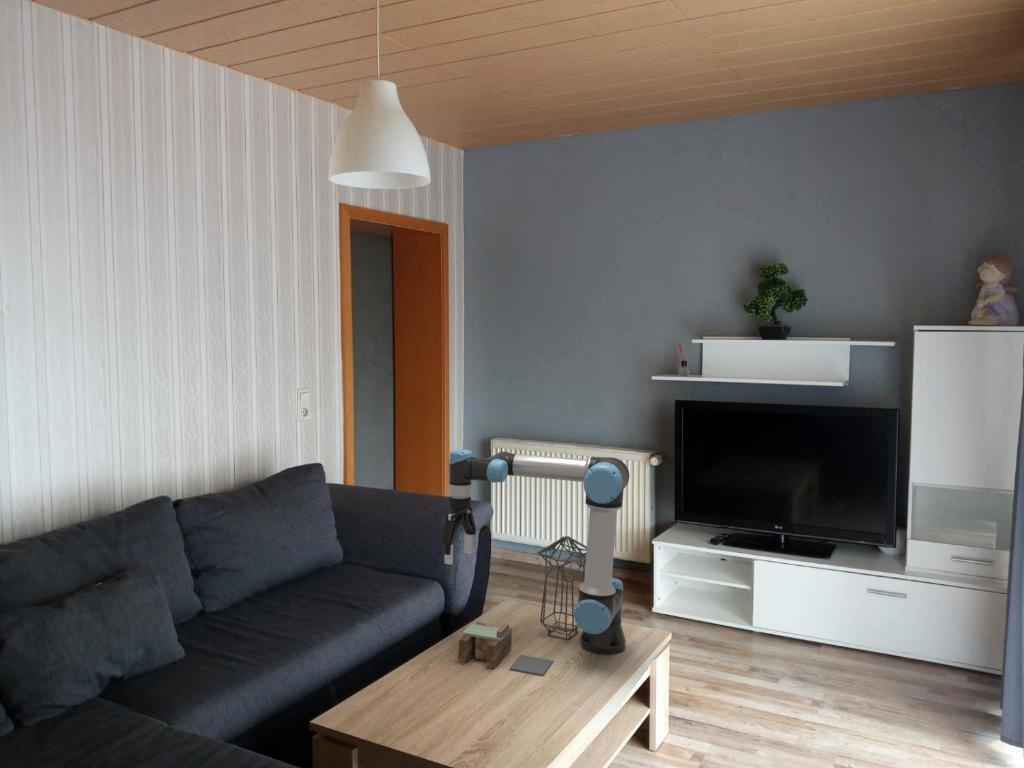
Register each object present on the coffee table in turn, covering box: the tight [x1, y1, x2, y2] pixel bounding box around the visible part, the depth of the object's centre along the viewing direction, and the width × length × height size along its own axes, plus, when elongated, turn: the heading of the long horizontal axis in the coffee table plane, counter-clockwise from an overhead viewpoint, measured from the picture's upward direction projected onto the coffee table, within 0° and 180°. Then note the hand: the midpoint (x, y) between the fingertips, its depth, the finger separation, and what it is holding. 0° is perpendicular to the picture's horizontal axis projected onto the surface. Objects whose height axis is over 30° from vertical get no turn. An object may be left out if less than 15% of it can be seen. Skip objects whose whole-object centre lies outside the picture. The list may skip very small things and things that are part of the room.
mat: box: [508, 654, 554, 677], centre depth 257 cm, size 11×11×1 cm
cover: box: [462, 623, 510, 641], centre depth 263 cm, size 13×8×3 cm, turn 71°
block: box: [474, 637, 491, 661], centre depth 263 cm, size 5×5×7 cm
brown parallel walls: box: [457, 621, 513, 670], centre depth 263 cm, size 12×16×8 cm
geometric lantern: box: [536, 535, 587, 640], centre depth 282 cm, size 16×16×35 cm
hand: (458, 558), depth 275 cm, fingers open, 13 cm apart
